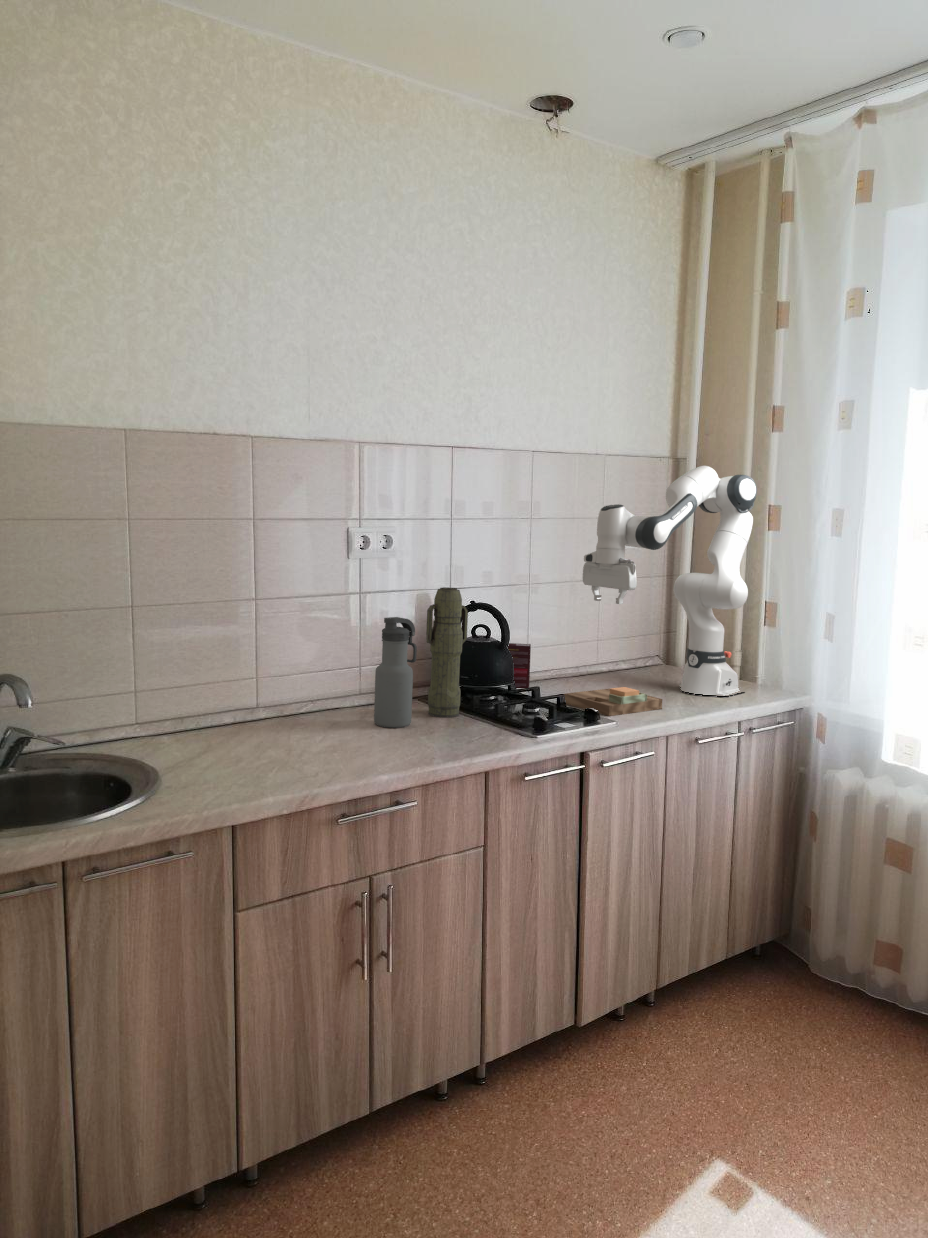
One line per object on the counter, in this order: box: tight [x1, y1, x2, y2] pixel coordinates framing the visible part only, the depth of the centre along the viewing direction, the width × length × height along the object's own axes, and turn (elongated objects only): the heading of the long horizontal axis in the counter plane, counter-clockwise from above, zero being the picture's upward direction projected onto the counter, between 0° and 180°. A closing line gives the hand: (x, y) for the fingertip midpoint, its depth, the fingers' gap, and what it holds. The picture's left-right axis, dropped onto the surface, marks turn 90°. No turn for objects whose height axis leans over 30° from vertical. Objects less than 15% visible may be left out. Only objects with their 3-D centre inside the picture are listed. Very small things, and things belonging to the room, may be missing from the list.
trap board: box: [563, 687, 663, 717], centre depth 276 cm, size 22×19×5 cm
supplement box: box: [508, 642, 532, 689], centre depth 287 cm, size 9×5×16 cm, turn 84°
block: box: [610, 686, 640, 697], centre depth 270 cm, size 6×6×3 cm
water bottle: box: [373, 616, 418, 729], centre depth 240 cm, size 10×10×28 cm
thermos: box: [426, 586, 469, 719], centre depth 254 cm, size 9×12×35 cm
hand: (608, 602), depth 287 cm, fingers open, 8 cm apart
